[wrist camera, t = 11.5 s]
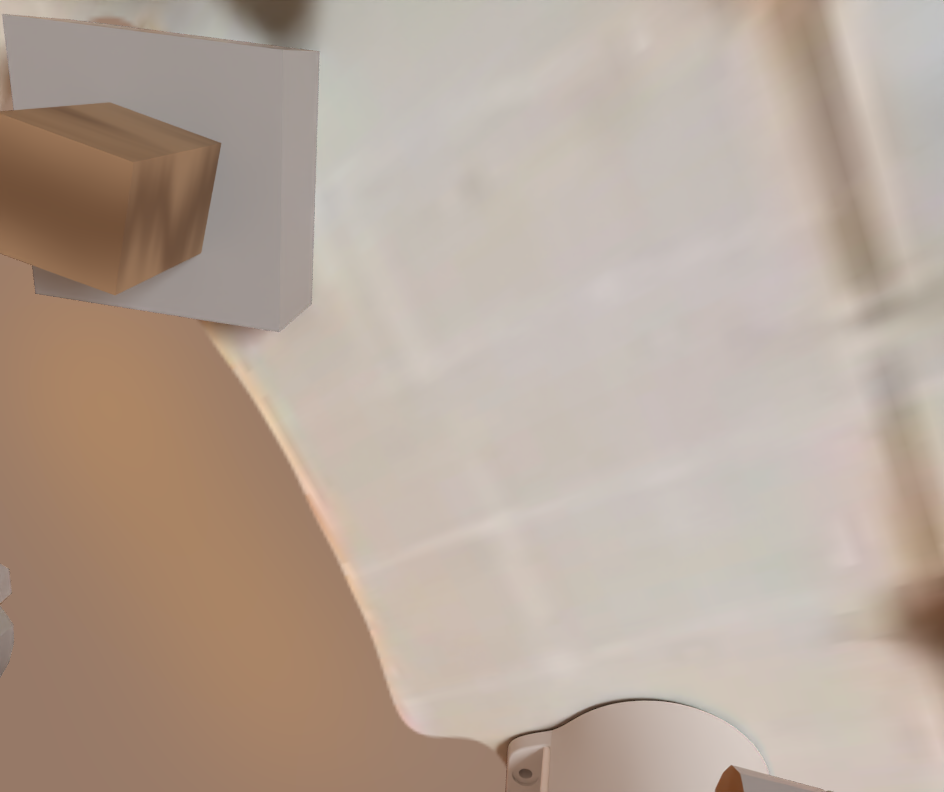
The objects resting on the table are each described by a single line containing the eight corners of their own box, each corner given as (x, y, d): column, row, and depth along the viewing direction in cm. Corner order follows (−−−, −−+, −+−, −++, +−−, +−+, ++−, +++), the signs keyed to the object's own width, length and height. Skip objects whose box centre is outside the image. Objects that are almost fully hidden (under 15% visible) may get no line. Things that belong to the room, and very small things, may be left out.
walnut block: (201, 253, 35) (115, 295, 29) (96, 214, 35) (-14, 248, 29) (221, 143, 33) (133, 162, 27) (110, 102, 33) (-5, 111, 27)
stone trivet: (314, 301, 41) (279, 332, 36) (96, 268, 42) (35, 293, 37) (322, 51, 36) (283, 49, 31) (75, 19, 37) (2, 13, 32)
